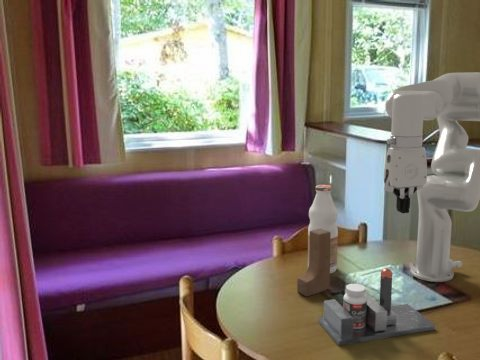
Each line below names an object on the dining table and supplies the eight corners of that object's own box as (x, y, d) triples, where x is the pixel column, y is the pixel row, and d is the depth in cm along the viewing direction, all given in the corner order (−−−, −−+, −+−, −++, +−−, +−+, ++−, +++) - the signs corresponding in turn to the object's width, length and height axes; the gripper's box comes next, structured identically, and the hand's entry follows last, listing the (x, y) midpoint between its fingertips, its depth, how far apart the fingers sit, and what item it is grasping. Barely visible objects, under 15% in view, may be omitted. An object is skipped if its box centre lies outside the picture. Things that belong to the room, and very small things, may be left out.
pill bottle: (353, 332, 118) (354, 294, 116) (337, 322, 123) (338, 285, 121) (370, 325, 121) (372, 288, 119) (354, 316, 126) (356, 280, 124)
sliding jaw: (379, 309, 129) (381, 261, 126) (400, 327, 119) (403, 276, 117) (355, 312, 127) (357, 264, 124) (375, 331, 118) (377, 279, 115)
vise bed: (407, 307, 132) (408, 286, 131) (435, 329, 121) (436, 306, 120) (318, 321, 126) (318, 299, 125) (338, 345, 115) (339, 321, 113)
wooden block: (306, 297, 140) (307, 237, 136) (296, 291, 144) (296, 233, 140) (330, 289, 145) (331, 231, 141) (319, 284, 148) (320, 227, 144)
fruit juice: (307, 274, 156) (307, 189, 150) (308, 263, 165) (309, 182, 159) (337, 275, 154) (338, 189, 148) (336, 264, 163) (338, 183, 157)
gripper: (387, 146, 118) (384, 218, 122) (441, 142, 122) (436, 213, 126) (372, 142, 125) (369, 210, 129) (423, 138, 129) (419, 205, 133)
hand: (402, 211), depth 127 cm, fingers closed
